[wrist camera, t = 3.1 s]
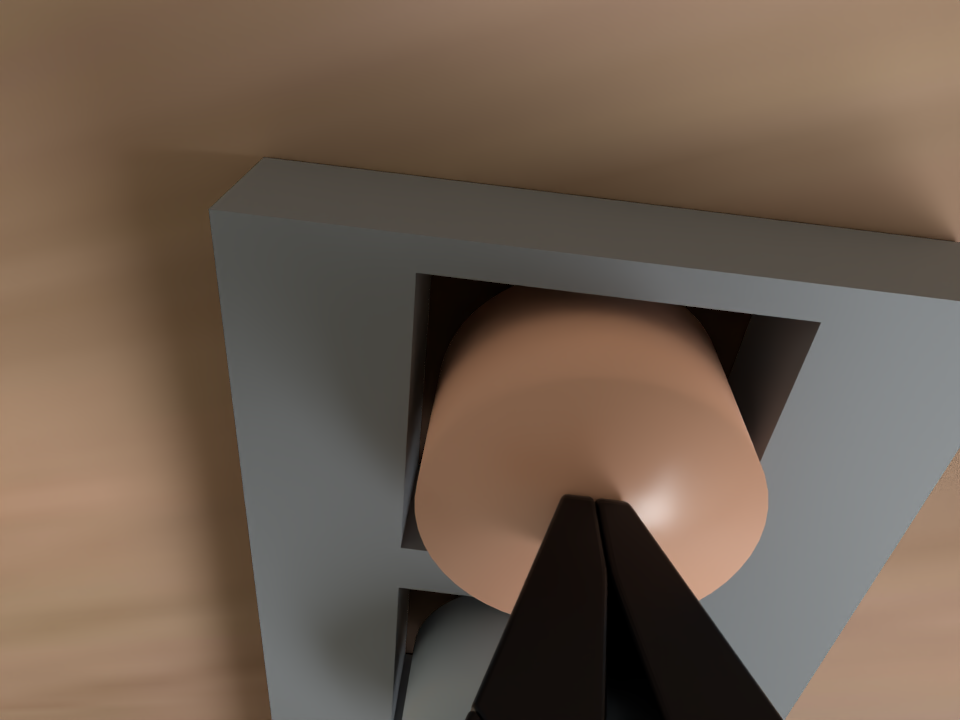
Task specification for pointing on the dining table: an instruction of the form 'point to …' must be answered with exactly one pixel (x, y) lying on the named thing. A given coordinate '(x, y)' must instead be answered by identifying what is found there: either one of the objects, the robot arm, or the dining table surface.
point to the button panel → (576, 268)
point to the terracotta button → (584, 438)
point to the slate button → (452, 659)
